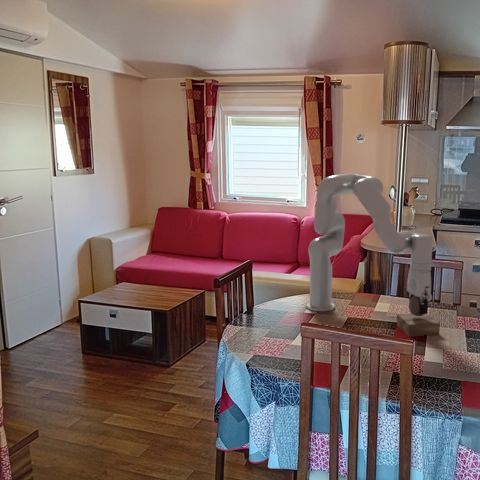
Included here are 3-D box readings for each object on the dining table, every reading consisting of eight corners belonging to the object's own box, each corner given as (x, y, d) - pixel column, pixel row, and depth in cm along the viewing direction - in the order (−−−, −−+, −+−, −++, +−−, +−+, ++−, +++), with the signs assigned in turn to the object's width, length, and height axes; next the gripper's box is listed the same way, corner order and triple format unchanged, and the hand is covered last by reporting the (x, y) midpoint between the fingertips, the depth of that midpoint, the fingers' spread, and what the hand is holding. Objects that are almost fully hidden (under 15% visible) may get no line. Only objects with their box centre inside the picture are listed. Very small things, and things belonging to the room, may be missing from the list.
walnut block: (396, 326, 217) (397, 314, 216) (425, 324, 219) (426, 312, 218) (408, 337, 206) (409, 324, 205) (439, 335, 207) (439, 323, 206)
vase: (428, 318, 207) (429, 296, 205) (409, 316, 208) (410, 295, 207) (425, 312, 214) (427, 290, 212) (407, 311, 215) (408, 289, 213)
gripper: (400, 261, 214) (397, 304, 218) (424, 272, 198) (421, 318, 201) (417, 260, 216) (414, 303, 220) (442, 271, 200) (439, 317, 203)
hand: (417, 310), depth 211 cm, fingers closed on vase, 6 cm apart
